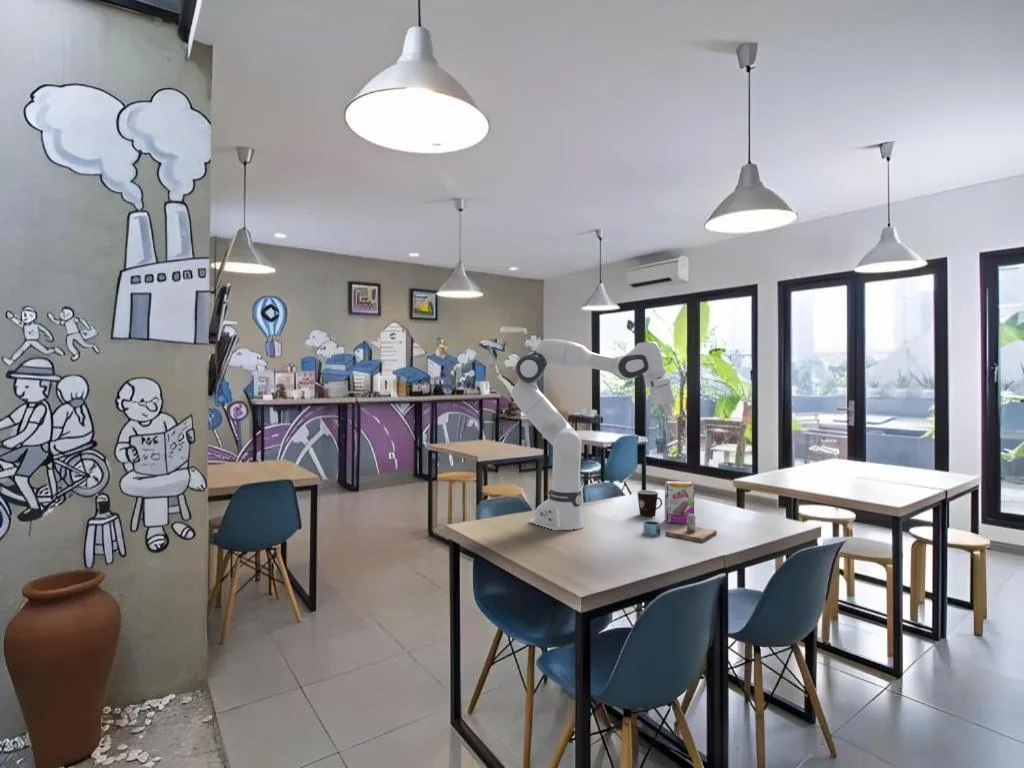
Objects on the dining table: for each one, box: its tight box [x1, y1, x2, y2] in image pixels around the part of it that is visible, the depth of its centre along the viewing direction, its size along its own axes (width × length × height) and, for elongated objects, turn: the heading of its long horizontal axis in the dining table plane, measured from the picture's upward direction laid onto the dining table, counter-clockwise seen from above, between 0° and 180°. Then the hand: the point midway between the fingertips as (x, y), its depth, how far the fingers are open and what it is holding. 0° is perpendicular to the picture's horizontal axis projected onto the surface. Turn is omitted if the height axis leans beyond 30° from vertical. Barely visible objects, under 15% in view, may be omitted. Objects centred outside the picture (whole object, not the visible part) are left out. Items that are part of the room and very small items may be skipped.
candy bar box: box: [664, 480, 696, 524], centre depth 220 cm, size 11×5×16 cm, turn 84°
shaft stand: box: [665, 513, 718, 544], centre depth 201 cm, size 14×14×8 cm
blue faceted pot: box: [642, 520, 662, 537], centre depth 203 cm, size 6×6×4 cm
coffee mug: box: [637, 489, 663, 518], centre depth 230 cm, size 12×9×10 cm
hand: (666, 414), depth 210 cm, fingers open, 8 cm apart
